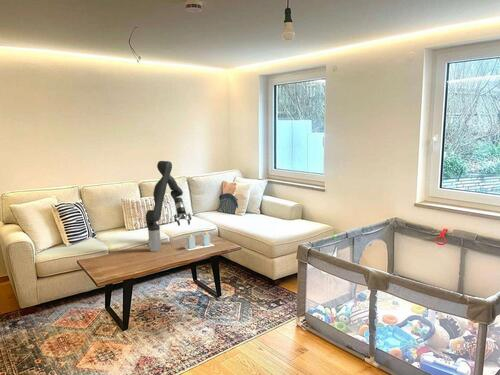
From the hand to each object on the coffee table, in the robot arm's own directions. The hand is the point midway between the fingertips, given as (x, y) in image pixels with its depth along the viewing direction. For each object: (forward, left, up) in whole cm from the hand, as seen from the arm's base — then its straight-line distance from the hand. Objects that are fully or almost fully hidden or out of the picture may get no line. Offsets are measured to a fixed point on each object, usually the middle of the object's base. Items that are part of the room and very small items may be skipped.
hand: (184, 224), depth 322 cm
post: (+13, -14, -17) cm, 25 cm away
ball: (+14, -14, -7) cm, 21 cm away
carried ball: (0, -14, -7) cm, 16 cm away
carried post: (0, -14, -17) cm, 22 cm away
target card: (+7, -14, -17) cm, 23 cm away
